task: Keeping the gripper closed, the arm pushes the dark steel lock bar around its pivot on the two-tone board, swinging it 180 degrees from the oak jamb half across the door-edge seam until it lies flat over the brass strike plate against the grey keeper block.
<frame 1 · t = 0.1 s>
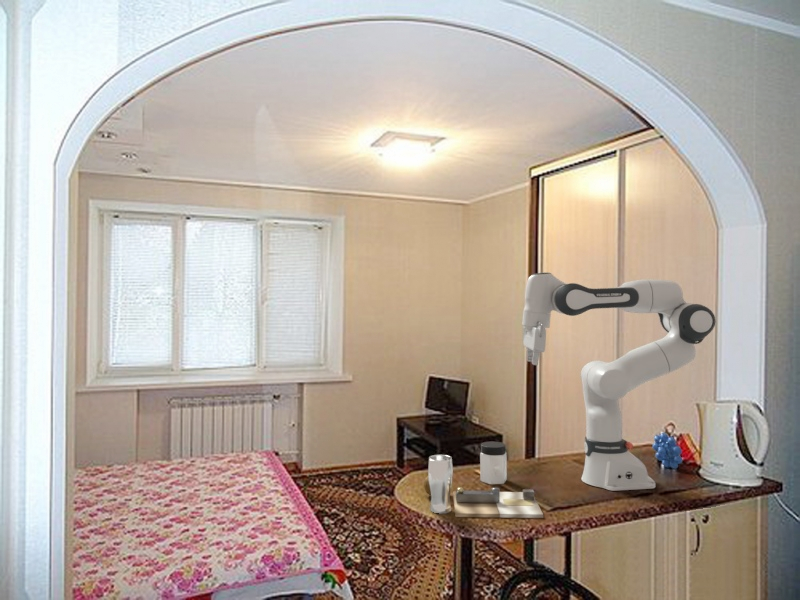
hand: (532, 363, 190), 39 cm above the breakfast bar, tool pointing down, fingers open, 8 cm apart
lock bar: (477, 494, 169), point 3 cm above the breakfast bar, hinge at 0.0°
door board: (495, 505, 168), on the breakfast bar
beer glass: (440, 510, 165), on the breakfast bar
jar: (493, 481, 191), on the breakfast bar
grapes: (665, 468, 204), on the breakfast bar
onion: (436, 496, 177), on the breakfast bar
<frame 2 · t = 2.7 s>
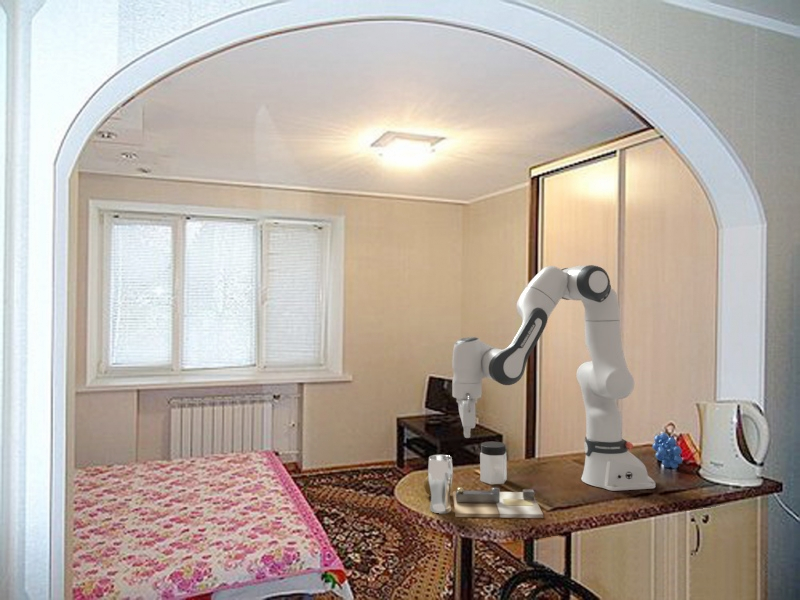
hand: (467, 436, 176), 18 cm above the breakfast bar, tool pointing down, fingers closed
nothing on the breakfast bar moved.
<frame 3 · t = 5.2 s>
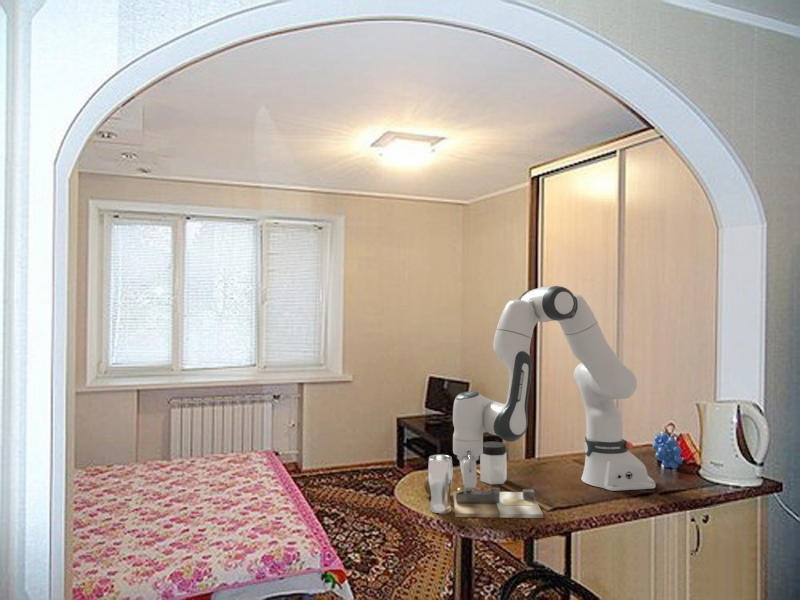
hand: (468, 493, 171), 2 cm above the breakfast bar, tool pointing down, fingers closed
lock bar: (477, 494, 168), point 3 cm above the breakfast bar, hinge at 1.7°, touching gripper
everything else where it was.
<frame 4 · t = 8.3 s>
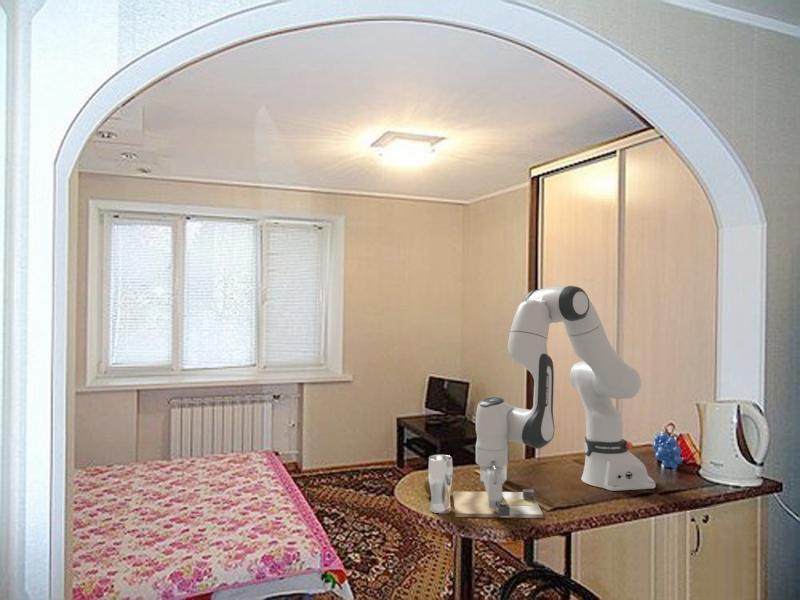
hand: (491, 506, 161), 2 cm above the breakfast bar, tool pointing down, fingers closed
lock bar: (499, 501, 163), point 3 cm above the breakfast bar, hinge at 95.2°, touching gripper
everything else where it was.
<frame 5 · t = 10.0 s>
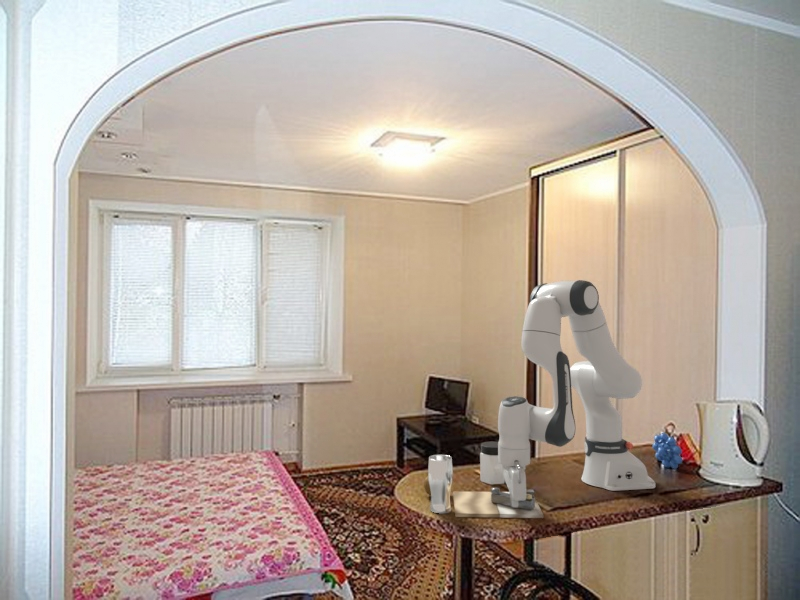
hand: (514, 505, 162), 2 cm above the breakfast bar, tool pointing down, fingers closed
lock bar: (511, 498, 165), point 3 cm above the breakfast bar, hinge at 148.4°, touching gripper
everything else where it was.
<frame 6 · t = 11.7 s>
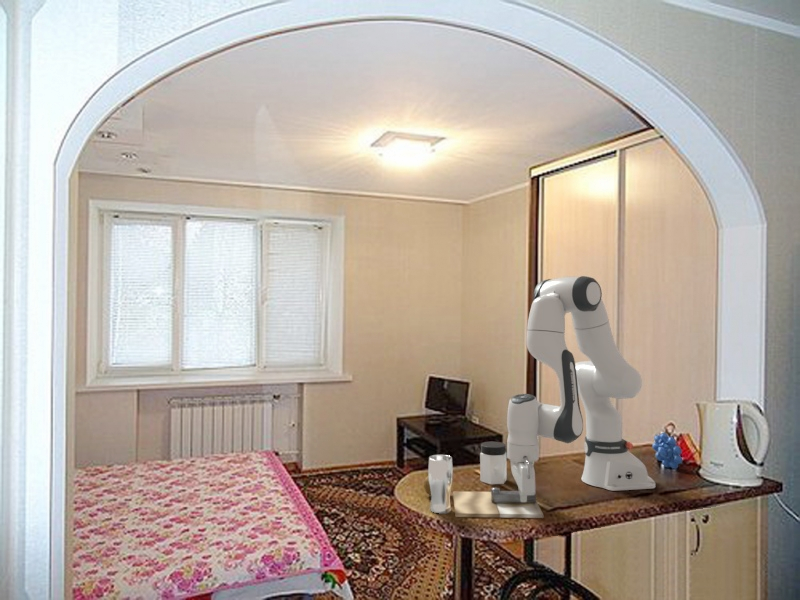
hand: (522, 500, 165), 2 cm above the breakfast bar, tool pointing down, fingers closed
lock bar: (513, 494, 168), point 3 cm above the breakfast bar, hinge at 181.3°, touching door board, gripper
everything else where it was.
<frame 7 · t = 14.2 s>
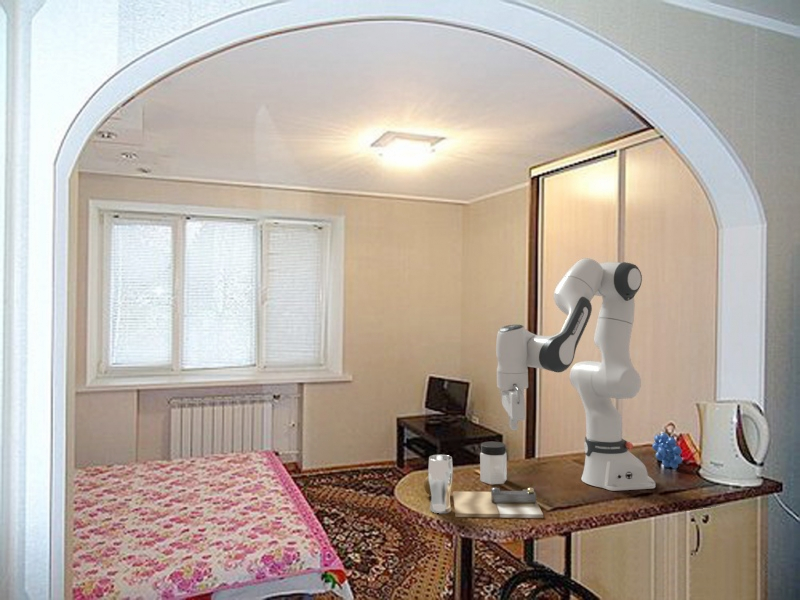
hand: (513, 429, 167), 23 cm above the breakfast bar, tool pointing down, fingers closed
lock bar: (513, 494, 168), point 3 cm above the breakfast bar, hinge at 181.3°, touching door board
everything else where it was.
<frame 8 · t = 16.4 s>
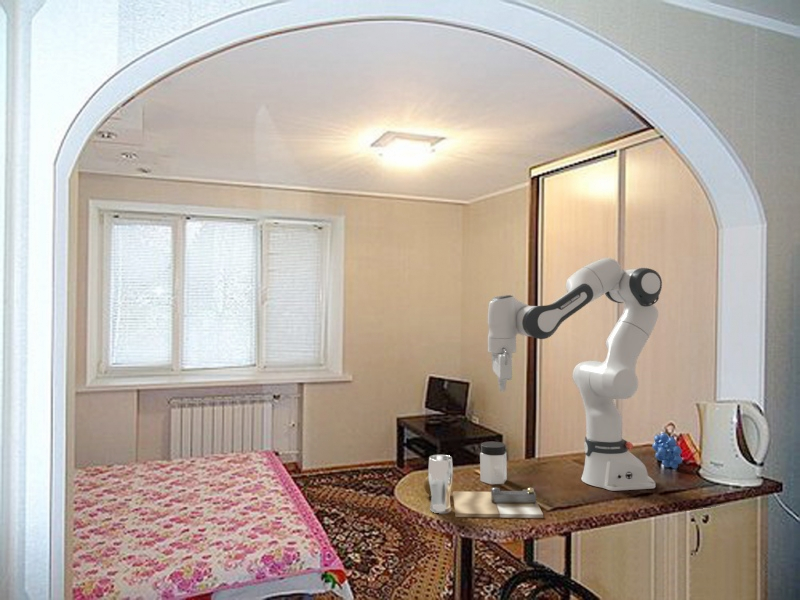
hand: (502, 390, 183), 31 cm above the breakfast bar, tool pointing down, fingers closed
nothing on the breakfast bar moved.
at the end: lock bar at +181° (first picture: +0°) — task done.
